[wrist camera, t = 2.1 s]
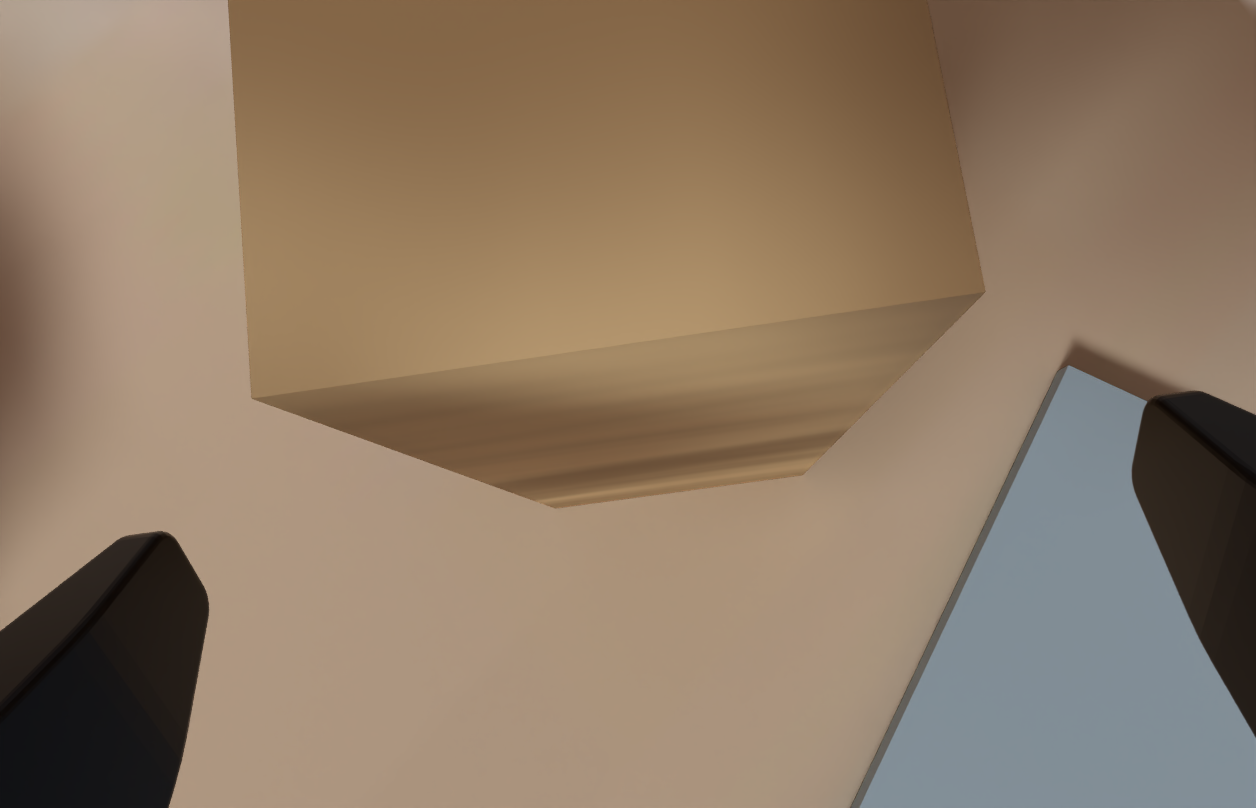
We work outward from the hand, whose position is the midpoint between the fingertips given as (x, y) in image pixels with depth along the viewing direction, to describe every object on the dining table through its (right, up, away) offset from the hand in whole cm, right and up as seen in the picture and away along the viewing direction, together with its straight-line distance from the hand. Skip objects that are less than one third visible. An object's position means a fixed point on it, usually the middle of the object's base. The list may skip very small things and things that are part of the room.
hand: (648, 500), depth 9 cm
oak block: (0, +2, +11) cm, 11 cm away
